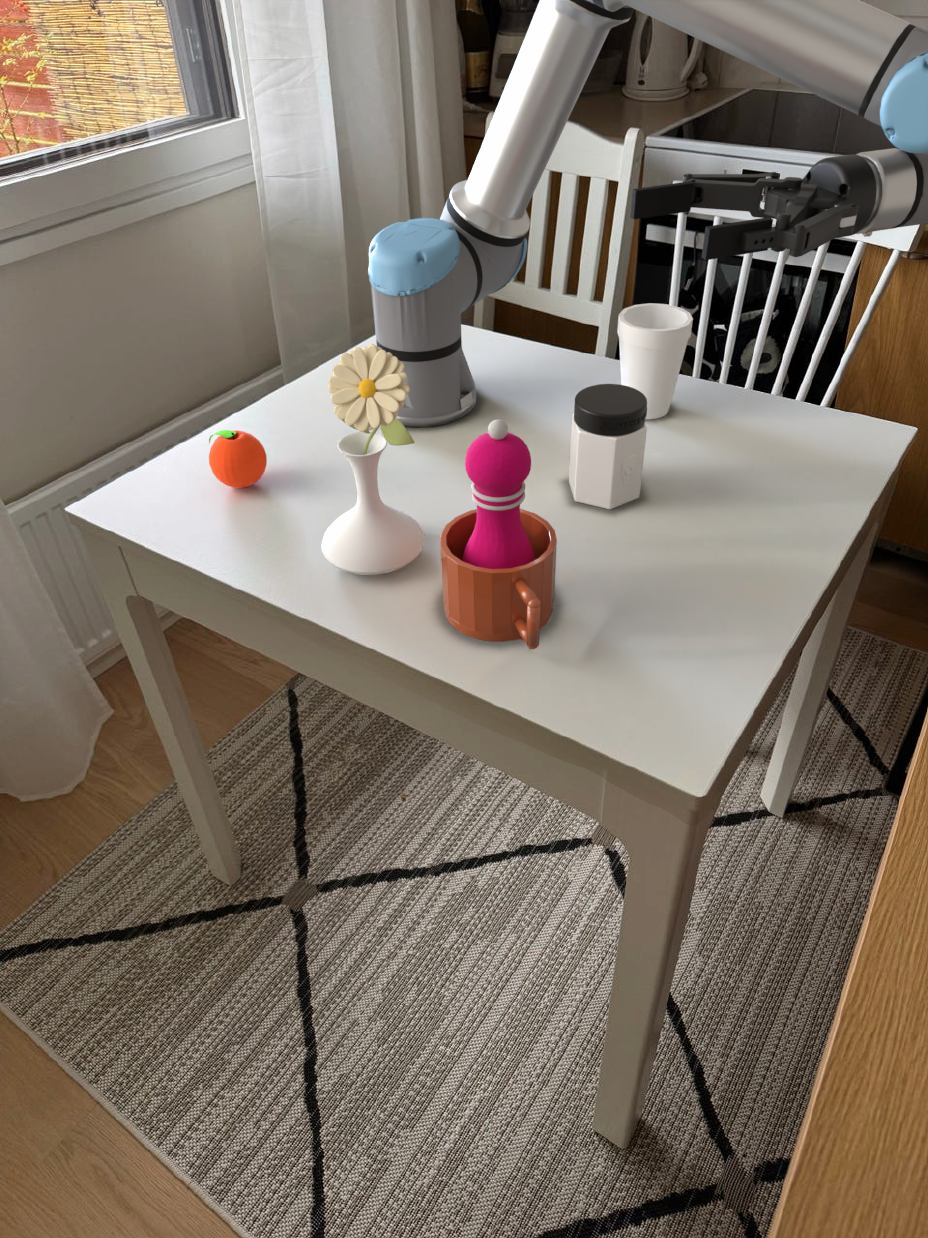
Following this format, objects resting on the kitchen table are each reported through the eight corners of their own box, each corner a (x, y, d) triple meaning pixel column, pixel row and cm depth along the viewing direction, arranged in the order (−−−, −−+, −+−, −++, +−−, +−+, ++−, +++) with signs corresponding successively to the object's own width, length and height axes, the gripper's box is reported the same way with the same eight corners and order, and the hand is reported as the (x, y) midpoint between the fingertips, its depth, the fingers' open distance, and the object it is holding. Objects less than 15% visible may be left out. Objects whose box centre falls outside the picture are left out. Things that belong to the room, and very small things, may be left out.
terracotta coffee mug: (429, 587, 96) (425, 520, 90) (527, 564, 98) (528, 497, 93) (479, 678, 85) (478, 607, 79) (588, 649, 88) (593, 578, 82)
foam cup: (624, 388, 131) (632, 299, 122) (687, 400, 127) (700, 308, 119) (602, 417, 124) (609, 324, 116) (668, 429, 121) (680, 335, 112)
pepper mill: (514, 629, 88) (516, 447, 76) (450, 608, 91) (441, 429, 79) (546, 589, 93) (552, 411, 81) (484, 570, 96) (481, 395, 83)
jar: (596, 517, 105) (604, 423, 97) (553, 487, 110) (557, 396, 103) (654, 493, 109) (665, 401, 101) (610, 465, 114) (617, 375, 106)
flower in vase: (302, 557, 101) (264, 340, 85) (377, 514, 107) (354, 304, 91) (382, 605, 94) (358, 378, 78) (457, 556, 100) (449, 337, 84)
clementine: (196, 487, 113) (184, 436, 108) (234, 462, 117) (223, 412, 113) (246, 504, 110) (234, 451, 105) (282, 477, 114) (273, 426, 110)
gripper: (931, 271, 84) (734, 306, 79) (773, 202, 103) (605, 227, 97) (957, 185, 80) (749, 216, 74) (786, 129, 98) (610, 150, 93)
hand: (666, 222), depth 86 cm, fingers open, 13 cm apart
